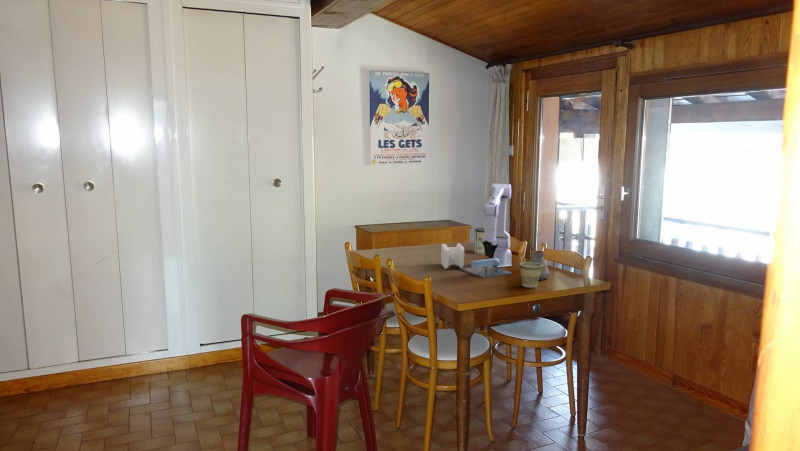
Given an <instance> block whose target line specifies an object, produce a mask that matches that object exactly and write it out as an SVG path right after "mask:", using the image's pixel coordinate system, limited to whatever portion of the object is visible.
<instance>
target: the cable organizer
mask: <svg viewBox="0 0 800 451" xmlns="http://www.w3.org/2000/svg"><path fill="white" fill-rule="evenodd" d="M440 249H441V250H440V263H441V266H442V267H443V269H444V270H447V269H449V266H453V265H454V266H456V267H459V269H460V270H461V269H463V268H464V266H465V247H464V246H463V245H462V244H461V243H457V244H456V246H453V247H452V246H451V247H449V246H448V245H447V244H445V243H441V245H440Z"/></svg>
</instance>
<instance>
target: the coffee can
mask: <svg viewBox="0 0 800 451" xmlns="http://www.w3.org/2000/svg"><path fill="white" fill-rule="evenodd" d="M482 238H484V227H478V228H474V244H473V245H474V249H473V253H475V254H477V255H485V250H484V246H483V244H482V242H483V241H485V240H482Z"/></svg>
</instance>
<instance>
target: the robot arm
mask: <svg viewBox="0 0 800 451" xmlns="http://www.w3.org/2000/svg"><path fill="white" fill-rule="evenodd" d="M490 194H491V197H490V198H489V199H488V201H487V203H486V204H485V205H484V206H483V220H484V226H483V228H484V238H482V240H485V241H483V242H482V244H483V246H484V250H485V254H484V255H485V257H488V259H493V258H498V259H499V265H498V266H497V268H506V267H512V266H513V265H512V251H511V249H510V248H511V234H510V233H508V231H506V221H507V203H508V201H509V200H512V199H511V198H512V185H511V183H492V184H491V186H490Z"/></svg>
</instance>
